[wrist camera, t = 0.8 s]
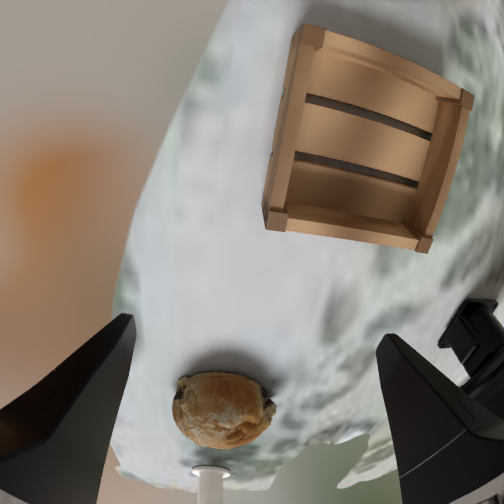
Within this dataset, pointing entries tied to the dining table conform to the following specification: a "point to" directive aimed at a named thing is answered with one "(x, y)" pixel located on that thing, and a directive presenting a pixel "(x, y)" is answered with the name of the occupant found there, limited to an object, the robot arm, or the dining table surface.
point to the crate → (362, 144)
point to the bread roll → (221, 409)
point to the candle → (210, 484)
